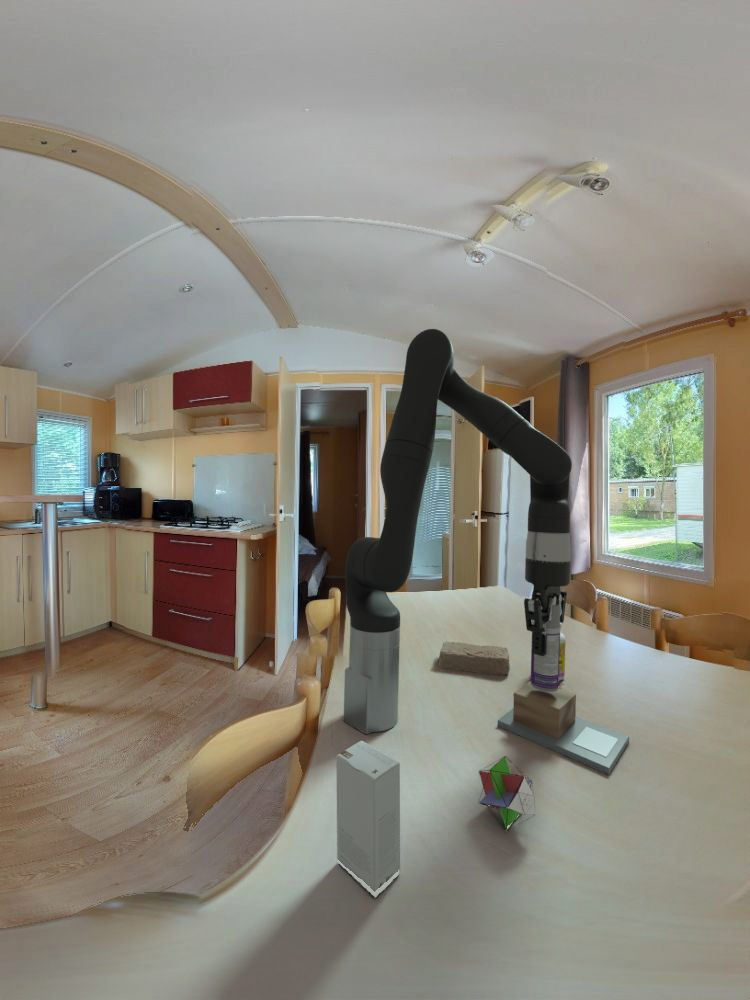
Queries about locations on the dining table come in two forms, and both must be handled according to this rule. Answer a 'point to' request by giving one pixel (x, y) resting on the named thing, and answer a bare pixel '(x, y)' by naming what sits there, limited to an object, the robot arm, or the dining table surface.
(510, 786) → the geometric puzzle
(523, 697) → the walnut plinth
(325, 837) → the dining table surface
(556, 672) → the container
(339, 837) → the skincare box
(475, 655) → the brick
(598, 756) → the slate board
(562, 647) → the supplement bottle
